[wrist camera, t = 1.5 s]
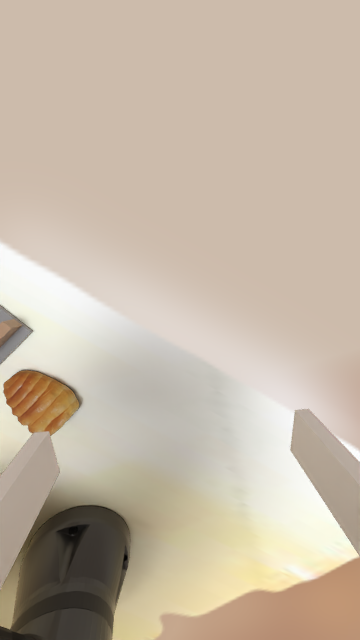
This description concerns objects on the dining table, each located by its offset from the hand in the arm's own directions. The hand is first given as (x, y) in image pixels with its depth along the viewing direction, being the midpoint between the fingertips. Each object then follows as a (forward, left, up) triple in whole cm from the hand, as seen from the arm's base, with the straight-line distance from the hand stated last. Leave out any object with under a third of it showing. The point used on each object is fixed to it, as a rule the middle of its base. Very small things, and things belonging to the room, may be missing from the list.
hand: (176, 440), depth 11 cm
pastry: (-15, +6, -21) cm, 27 cm away
